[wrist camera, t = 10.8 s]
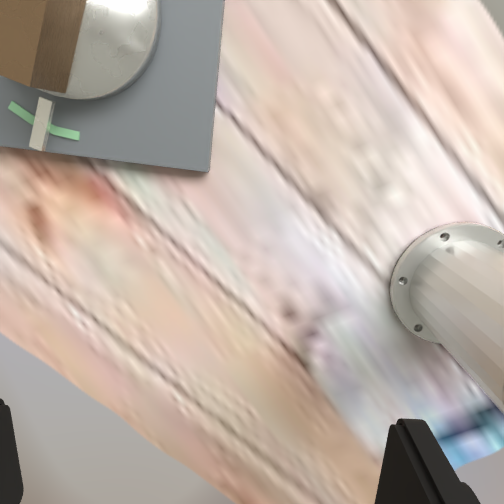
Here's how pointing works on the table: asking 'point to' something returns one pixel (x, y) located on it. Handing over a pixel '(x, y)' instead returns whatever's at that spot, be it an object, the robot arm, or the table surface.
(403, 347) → the table surface
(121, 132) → the dial plate
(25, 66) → the tuning dial
